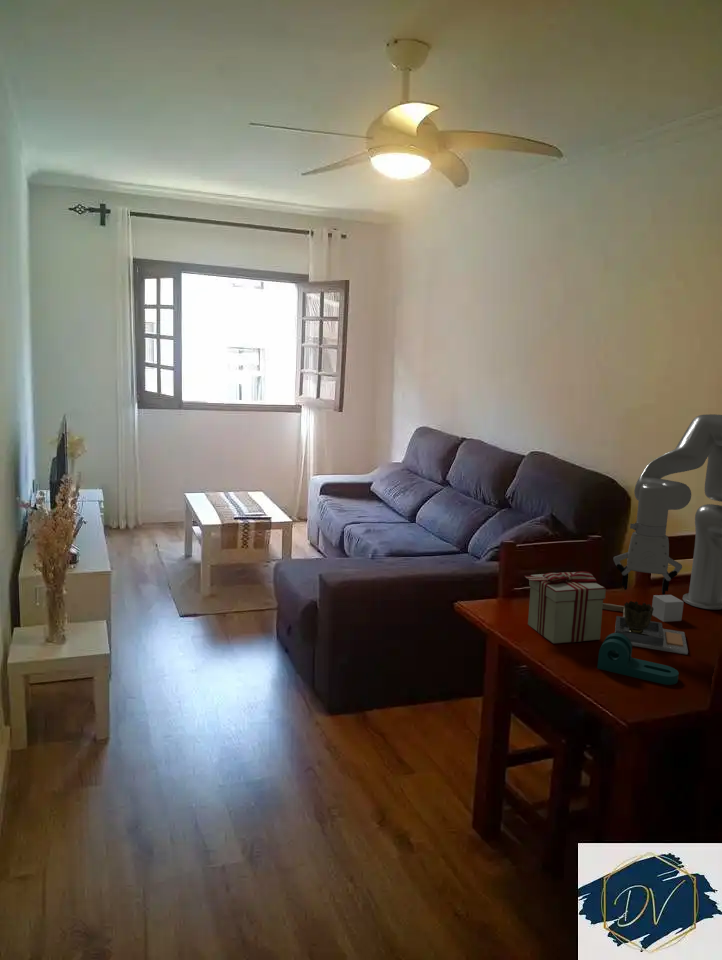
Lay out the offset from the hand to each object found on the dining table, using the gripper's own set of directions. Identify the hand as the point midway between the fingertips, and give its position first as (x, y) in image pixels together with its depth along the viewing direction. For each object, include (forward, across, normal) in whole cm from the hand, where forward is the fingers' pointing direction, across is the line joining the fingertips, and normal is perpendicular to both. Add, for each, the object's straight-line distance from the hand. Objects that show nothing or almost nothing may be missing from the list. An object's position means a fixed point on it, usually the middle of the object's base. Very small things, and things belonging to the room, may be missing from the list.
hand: (644, 590), depth 195 cm
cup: (+12, -1, -1) cm, 12 cm away
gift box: (+13, -21, -6) cm, 26 cm away
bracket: (+13, -1, -24) cm, 28 cm away
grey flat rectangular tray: (+13, +3, -1) cm, 14 cm away
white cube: (+14, +8, +19) cm, 25 cm away
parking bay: (+13, -9, +13) cm, 21 cm away
